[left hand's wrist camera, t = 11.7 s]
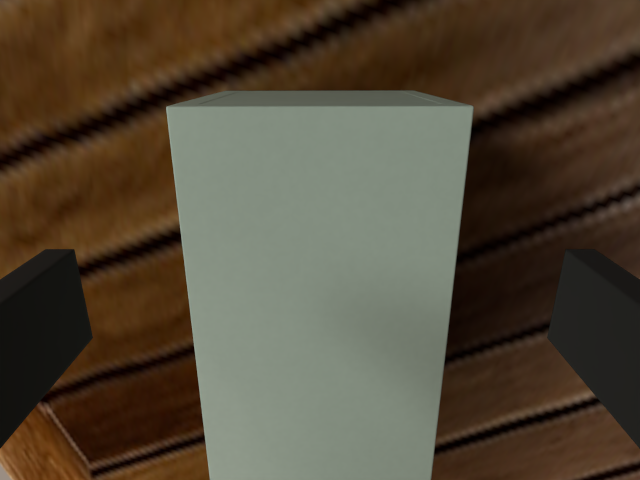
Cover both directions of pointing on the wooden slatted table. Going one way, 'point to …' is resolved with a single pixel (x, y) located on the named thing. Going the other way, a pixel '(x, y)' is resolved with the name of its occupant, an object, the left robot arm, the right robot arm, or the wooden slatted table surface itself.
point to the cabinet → (320, 276)
